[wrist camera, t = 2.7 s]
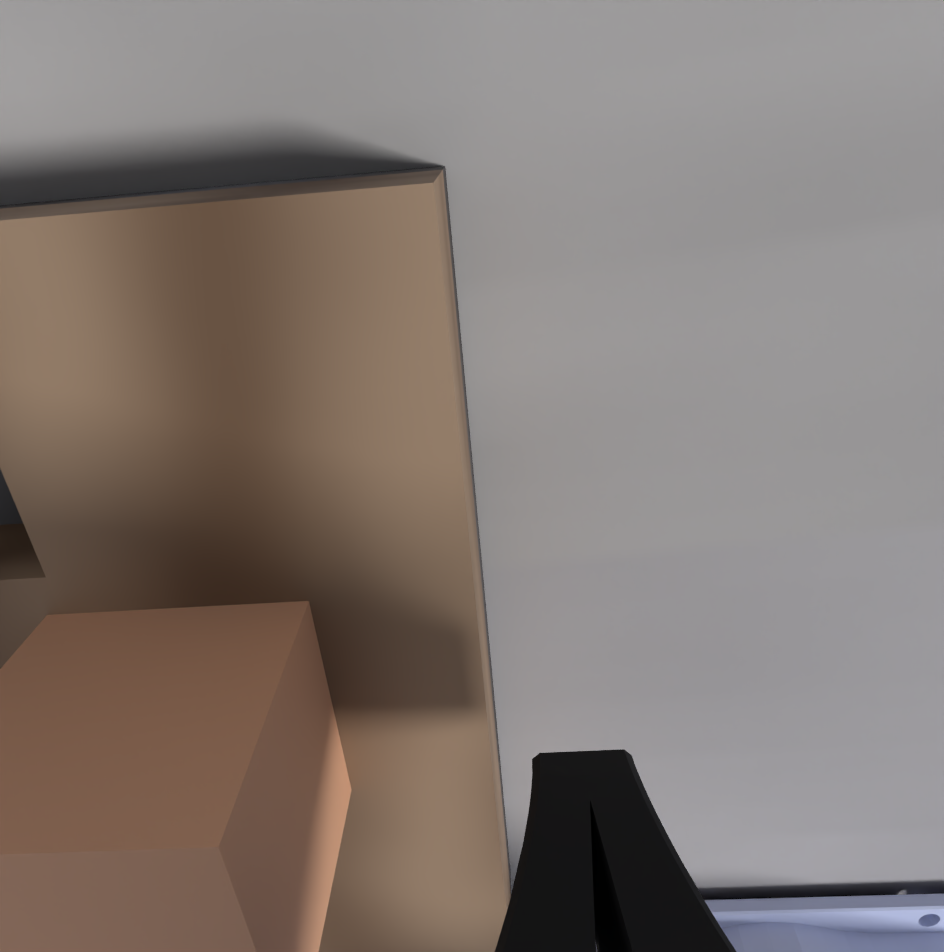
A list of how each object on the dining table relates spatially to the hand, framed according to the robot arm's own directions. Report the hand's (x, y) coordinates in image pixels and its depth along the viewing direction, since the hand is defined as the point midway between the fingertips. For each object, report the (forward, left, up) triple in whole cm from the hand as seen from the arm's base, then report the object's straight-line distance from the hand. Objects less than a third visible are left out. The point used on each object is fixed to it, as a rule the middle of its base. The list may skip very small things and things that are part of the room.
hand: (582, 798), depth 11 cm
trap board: (+9, 0, -5) cm, 11 cm away
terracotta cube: (+6, 0, -2) cm, 7 cm away
